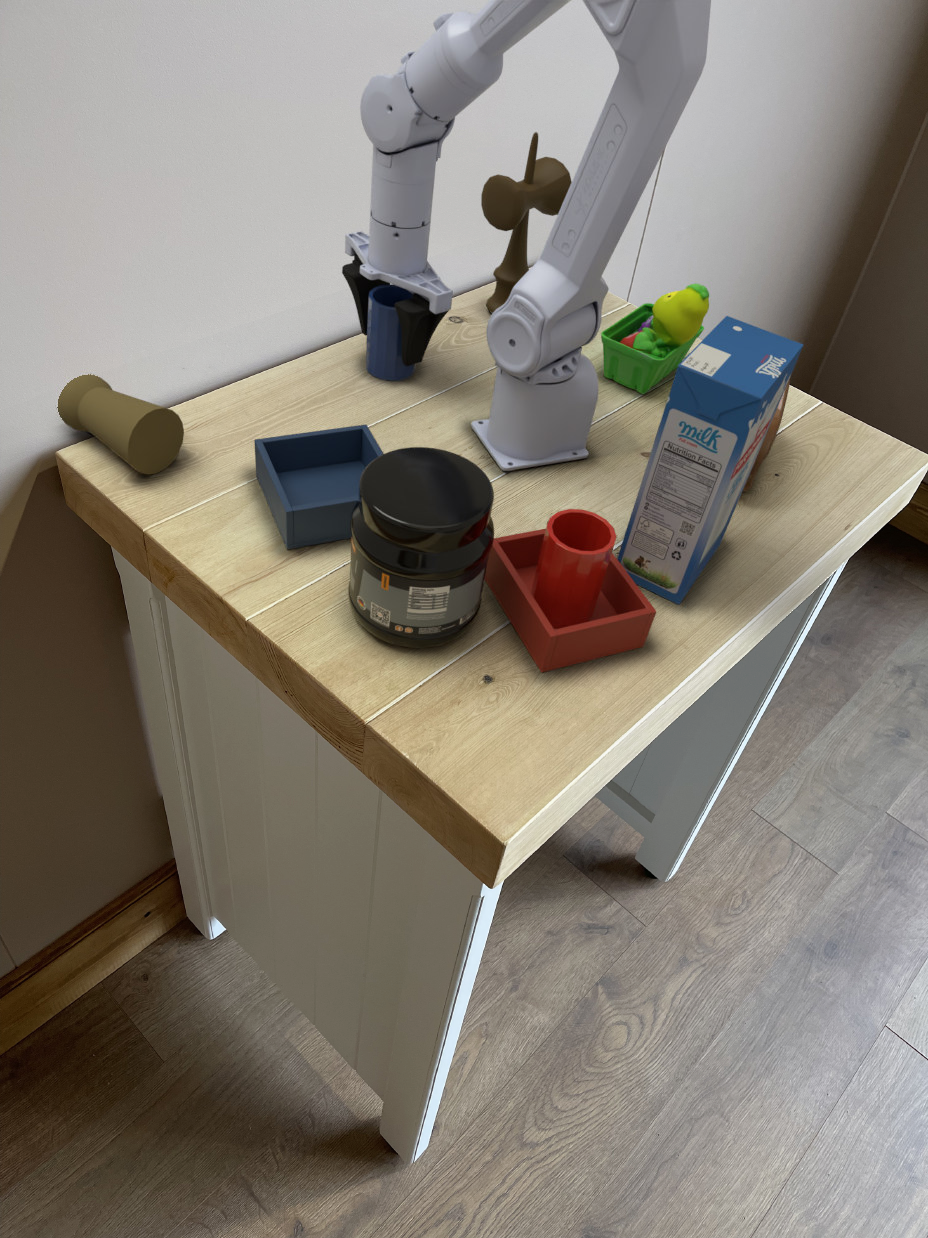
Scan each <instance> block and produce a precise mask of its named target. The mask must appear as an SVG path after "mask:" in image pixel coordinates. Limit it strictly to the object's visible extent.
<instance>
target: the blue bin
mask: <svg viewBox="0 0 928 1238" xmlns="http://www.w3.org/2000/svg"><path fill="white" fill-rule="evenodd" d="M253 443H254V460H255V477H256V479H257V481H258V485H259V486H260V489H261V491H262V493H263V496H264V498H265V501H266V503H267V505H268V508H269V510H270V513H271V515H272V517H273V519H274V522H275V524H276V527H277V530H278V531H279V534H280V536H281V539H282V541H283V544H284V546H285V549H286V550H292V549H293V550H294V549H297V548H298V549H299V548H305V547H309V546H315V545H319V544H320V545H321V544H325V543H331V542H337V541H342V540H349V539H351V531H350V519H351V514H352V511H353V508H354V506H355V504H356V503H357V501H358V498H359V482H360V477H361V474H362V472H363V471H364V469H365V468H366V466H367V465H368V464H369V463H370V462H372V461H373V460H374V459H376V458H377V457H379V456H381V455H383V454H384V452H383V450H382V449H381V447H380V445H379V443H378V442H377V440H376V438H375V436H374V435H373V433H372V432H371V430H370V428H369V426H368V424H367V423H366V424H359V425H357V424H356V425H352V426H351V425H350V426H343V427H336V428H328V429H322V430H321V429H320V430H314V431H307V432H299V433H292V434H285V435H279V436H278V435H276V436H270V437H269V436H268V437H263V438H255V439H254V440H253Z"/></svg>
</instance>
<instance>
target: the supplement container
mask: <svg viewBox="0 0 928 1238" xmlns="http://www.w3.org/2000/svg"><path fill="white" fill-rule="evenodd" d="M494 491H495V490H494V487H493V484H492V482H491V480H490V478H489V477H488V476H487V474H486V472H485V471H483V470H482V469H481V468H480V467H479V466H478V465H476V464H475V462H473V461H471V460H470V459H467V458H466V457H464V456H462V455H459V454H458V453H454V452H452V451H449V450H446V449H440V448H436V447H429V446H428V447H426V446H425V447H424V446H413V447H411V446H410V447H404V448H398V449H393V450H391V451H388V452H385V453H383V455H381V456H379V457H377V458H376V459H374V460H373V461H372V462H370V463H369V464H368V465H367V466H366V468H365V469H364V471H363V472H362V474H361V477H360V482H359V498H358V501H357V503H356V504H355V506H354V508H353V511H352V514H351V519H350V531H351V538H350V539H351V540H350V560H349V562H350V564H349V565H350V566H349V581H348V586H347V597H348V604H349V607H350V610H351V611H352V614H353V617H354V618H355V619H356V621H357V622H358V623H359V625H360V626H362V627H363V628H364V630H366V631H367V632H368V633H370V634H371V635H373V636H374V637H376V638H377V639H379V640H381V641H384V642H387V643H389V644H392V645H395V646H399V647H403V648H412V649H425V648H432V647H433V648H434V647H439V646H443V645H445V644H448V643H450V642H453V641H455V640H456V639H458V638H460V637H461V636H463V635H464V634H465V633H466V632H467V631H468V630H469V629H470V628H471V627H472V626H473V625H474V623H475V622H476V620H477V618H478V616H479V614H480V610H481V606H482V595H483V589H484V584H485V574H486V568H487V563H488V557H489V552H490V550H491V548H492V545H493V540H494V538H495V525H494V521H493V518H492V512H493V506H494V500H495V492H494Z"/></svg>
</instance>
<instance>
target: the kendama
mask: <svg viewBox="0 0 928 1238" xmlns="http://www.w3.org/2000/svg"><path fill="white" fill-rule="evenodd" d="M538 146H539V133H538V132H537V131H535V132H534V133H533V134H532V137H531V140H530V145H529V150H528V155H527V159H526V165H525V171H524V176H523V179H522V180H520V181H516V180H514V179H513V178H512V177H510V176H507V175H503V174H494V175H492V176H489V178H488V179H487V180H486V182H485V183H484V184H483V187H482V192H481V195H480V196H481V197H480V199H481V200H480V201H481V205H480V206H481V209H482V214H483V216H484V219H486V221H487V222H488V224H489V225H491V226H492V227H493V228H495V229H496V230H499V231H503V232H509V231H511V234H510V238H509V241H508V245H507V248H506V251H505V254H504V257H503V259H502V261H501V263H500V264H499V265H498V266H497V267H496V268H494V270H493V276H494V278H495V289H494V292H493V294H492V295H491V296H489V298H488V299H487V301H486V303H485V307H486V308H487V310H488V311H489V312H490V313H491V314H493V312H494V311H495V310H496V309H498V308H499V307H501V306H502V305H503V304H504V303H505V302H506V301H507V300H508V298H509V296H510V294H511V291H512V289H513V287H514V286H515V285H516V283H517V282H518V281H519V280H520V279H521V278H522V277H523V276H524V275H525V274H526V273H527V272H528V271H529V270H530V268H529V265H528V235H529V220H530V210H533V209H535V210H537V211H538V212H539V213H541V214H543V215H546V216H552V217H553V216H558V213H559V211H560V209H561V206H562V204H563V202H564V199H565V197H566V194H567V192H568V190H569V187H570V185H571V183H572V178H571V173H570V171H569V170H568V168H567V167H566V166H565V164H564V163H563V162H562V161H560V160H558V159H557V158H555V157H550V156H544V157H541V158H538V159H537V157H538V156H537V155H538V148H539V147H538Z"/></svg>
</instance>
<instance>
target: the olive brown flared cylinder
mask: <svg viewBox="0 0 928 1238" xmlns="http://www.w3.org/2000/svg"><path fill="white" fill-rule="evenodd" d="M91 374H92V373H90V375H89V374H88V375H82V376H79V377H77V378H74V379H73V380H71V381H70V382H69V383H67V385H66V386H65V387H64V389H63V390H62V392H61V394H60V396H59V399H58V407H57V408H58V412H59V415H60V416H59V415H58V416H59V417H60V419H61V418H62V419H61V421H62V422H63V423H64V424H65V425H67V426H69V427H70V428H72V429H73V430H75V431H80V432H84V433H90V434H91V435H93V436H94V437H95V438H96V439H98V440H99V441H100V442H101V443H102V444H104V445H105V446H106V447H107V448H109V449H110V450H111V451H112V452H113V453H114V454H116V455H117V456H118V457H119V458H121V459H122V460H123V461H125V462H126V464H128V465H130V466H131V467H132V468H133V469H134V470H135V471H137V472H138V473H140V474H143V475H154V474H158V473H160V472H162V471H164V470H165V469H167V468H168V467H169V466H170V465H171V464H172V463H173V462H174V461H175V460H176V458H177V456H178V455H179V453H180V451H181V448H182V446H183V442H184V435H185V430H184V424H183V421H182V419H181V417H180V415H179V414H178V413H176V411H174V410H173V409H171V408H167V407H164V406H161V405H158V404H156V403H152V402H150V401H146V400H143V399H140V398H137V397H135V396H131V395H128V394H125V393H122V392H120V391H116V390H113V388H112V386H111V385H110V384H109V382H107V381H106V380H105V379H103V378H102V377H100V376H99V377H98V375H97V376H95V375H96V374H93V375H91ZM57 408H56V409H57ZM58 412H57V413H58Z"/></svg>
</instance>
